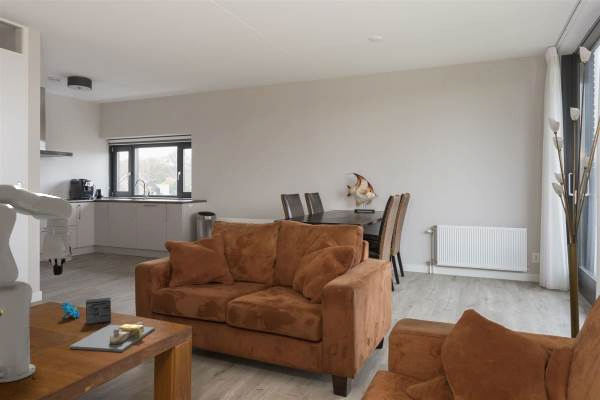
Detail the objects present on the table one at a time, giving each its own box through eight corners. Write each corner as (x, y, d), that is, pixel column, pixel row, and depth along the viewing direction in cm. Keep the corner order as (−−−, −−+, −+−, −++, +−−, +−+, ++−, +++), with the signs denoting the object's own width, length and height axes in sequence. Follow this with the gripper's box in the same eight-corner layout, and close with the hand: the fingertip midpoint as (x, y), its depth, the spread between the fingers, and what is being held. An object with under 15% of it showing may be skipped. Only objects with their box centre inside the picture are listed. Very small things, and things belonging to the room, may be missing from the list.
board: (121, 352, 164) (121, 349, 164) (69, 348, 167) (69, 345, 167) (154, 329, 190) (154, 327, 190) (108, 326, 193) (108, 324, 193)
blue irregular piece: (74, 317, 201) (60, 302, 201) (65, 326, 200) (50, 311, 201) (85, 313, 212) (71, 299, 212) (75, 322, 211) (61, 308, 212)
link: (118, 344, 168) (117, 332, 168) (106, 343, 169) (106, 331, 169) (146, 328, 188) (146, 316, 188) (136, 327, 189) (136, 316, 189)
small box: (111, 318, 205) (111, 296, 205) (111, 322, 199) (110, 300, 199) (86, 321, 201) (86, 299, 201) (85, 325, 195) (85, 302, 195)
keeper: (138, 338, 176) (138, 328, 176) (119, 337, 177) (119, 327, 177) (143, 335, 180) (143, 325, 180) (124, 333, 181) (124, 324, 181)
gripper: (33, 231, 171) (34, 276, 172) (71, 231, 172) (71, 276, 172) (44, 229, 179) (44, 272, 180) (80, 229, 179) (80, 272, 180)
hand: (58, 274), depth 176 cm, fingers closed
